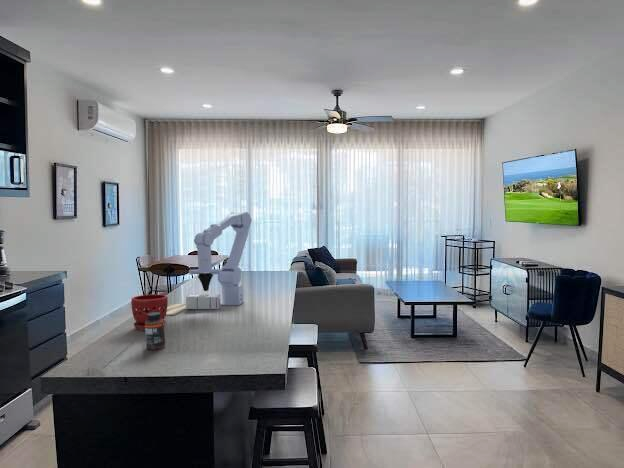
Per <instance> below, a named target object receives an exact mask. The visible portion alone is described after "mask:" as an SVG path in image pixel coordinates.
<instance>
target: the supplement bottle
mask: <svg viewBox="0 0 624 468" xmlns="http://www.w3.org/2000/svg"><path fill="white" fill-rule="evenodd" d="M147 318H148V319H147V321H146V322H145V330H144V331H145V344H146V349H147V350H150V351H155V350H161V349H163V348H165V347H166V336H165V335H166V333H165V324H164V321H163V319H161V318H160V313H159V312H153V313H149V314H147Z"/></svg>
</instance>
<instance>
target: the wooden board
mask: <svg viewBox="0 0 624 468" xmlns="http://www.w3.org/2000/svg"><path fill="white" fill-rule="evenodd" d="M186 310H188V309H186V303H170V304H168V305H167V312H166V316H167V317H169V316H173V317H174V316H176V315H178V314H180V313H182V312H184V311H186ZM166 316H165V317H166Z"/></svg>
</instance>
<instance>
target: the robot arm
mask: <svg viewBox="0 0 624 468" xmlns="http://www.w3.org/2000/svg"><path fill="white" fill-rule="evenodd" d="M252 222H253V221H252V217H251V214H250V213H249V212H248V211H244V212H243V211H242V212H240V211H239V212H235V211H232V212H230V213H228V214H227V215H226V216H225V217H224V219H222V221H220V222H219V223H218V224H217V223H211V224H210V226H209V227H208V228H206V229H204V230H203V231H202V232H198V233H197V234H195V236H194V238H193V243H194V244H195V246H196V247H195V248H196V250H197V263H198V264H197V266H198V268H197V269H189V270H188V275H197V278H198V279H199V282H200V283H201V286H202V288H203V289H202V290H203V292H208V291H209V288H210V284H211V280H212V278H213V276H214V275H217V281H218V282H219V284H220V286H221V293H222V294H221V295H222V297H221V298H222V302H220V306H240V305H241V304H243V303H244V302H245V300H244V287H243V285H242V284H240V282H241V277H242V269H241V268H240V266H239V265H240V262H241V259H242V255H243V253H244V249H245V246H246V243H247V239H248V235H249V231H250V227H251V224H252ZM230 226H231V228H232V230H233V231H234V232H235V237H234V240H233V244H232V247H231V250H230V253H229V257H228V259H227V262H226V264H224V265H223V266H222V267H221V269H220V268H219V269H216V268H215V269H214V268H213V267H212V262H213V261H212V249H211V248H212V245H213V244H214V241H215V240H216V239H217V238H219V237H221V235H222V234H223V231H224V230H226V229H227V228H229V227H230Z"/></svg>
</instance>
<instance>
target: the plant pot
mask: <svg viewBox="0 0 624 468" xmlns="http://www.w3.org/2000/svg"><path fill="white" fill-rule="evenodd" d="M130 303H131V304H130V305H131V311H132V312H131V313H132V316H133V319H134V320H135V322H134V323H133V327H134V328H136V329H137V330H140V331H145V322H146V321H147V319H148V318H147V314H149V313H153V312H159V313H160V318H161V319H163V321H164V325H165V324H166V320H165V318H166V312H167V306H168V305H169V302H168V295H166V294H142V295H137V296H134V297H131V302H130Z"/></svg>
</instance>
